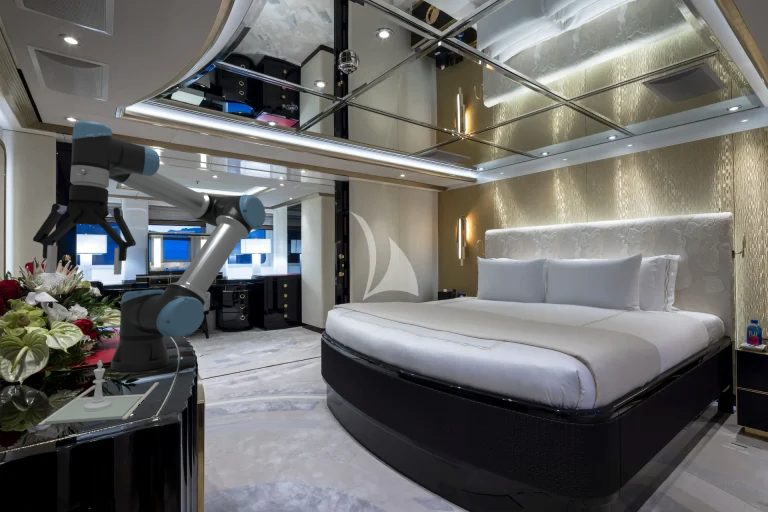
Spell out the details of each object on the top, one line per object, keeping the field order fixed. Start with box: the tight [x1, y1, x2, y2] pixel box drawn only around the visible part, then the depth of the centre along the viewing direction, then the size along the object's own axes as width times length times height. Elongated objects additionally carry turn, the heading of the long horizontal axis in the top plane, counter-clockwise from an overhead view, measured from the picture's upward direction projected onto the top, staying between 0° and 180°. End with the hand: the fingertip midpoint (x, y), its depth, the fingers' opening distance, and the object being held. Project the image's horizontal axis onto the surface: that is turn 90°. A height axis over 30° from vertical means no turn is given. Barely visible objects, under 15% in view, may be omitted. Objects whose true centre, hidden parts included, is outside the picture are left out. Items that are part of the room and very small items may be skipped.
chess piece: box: [83, 359, 112, 412], centre depth 83 cm, size 5×5×10 cm
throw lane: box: [37, 381, 160, 427], centre depth 88 cm, size 25×15×1 cm, turn 17°
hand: (84, 274), depth 94 cm, fingers open, 13 cm apart
